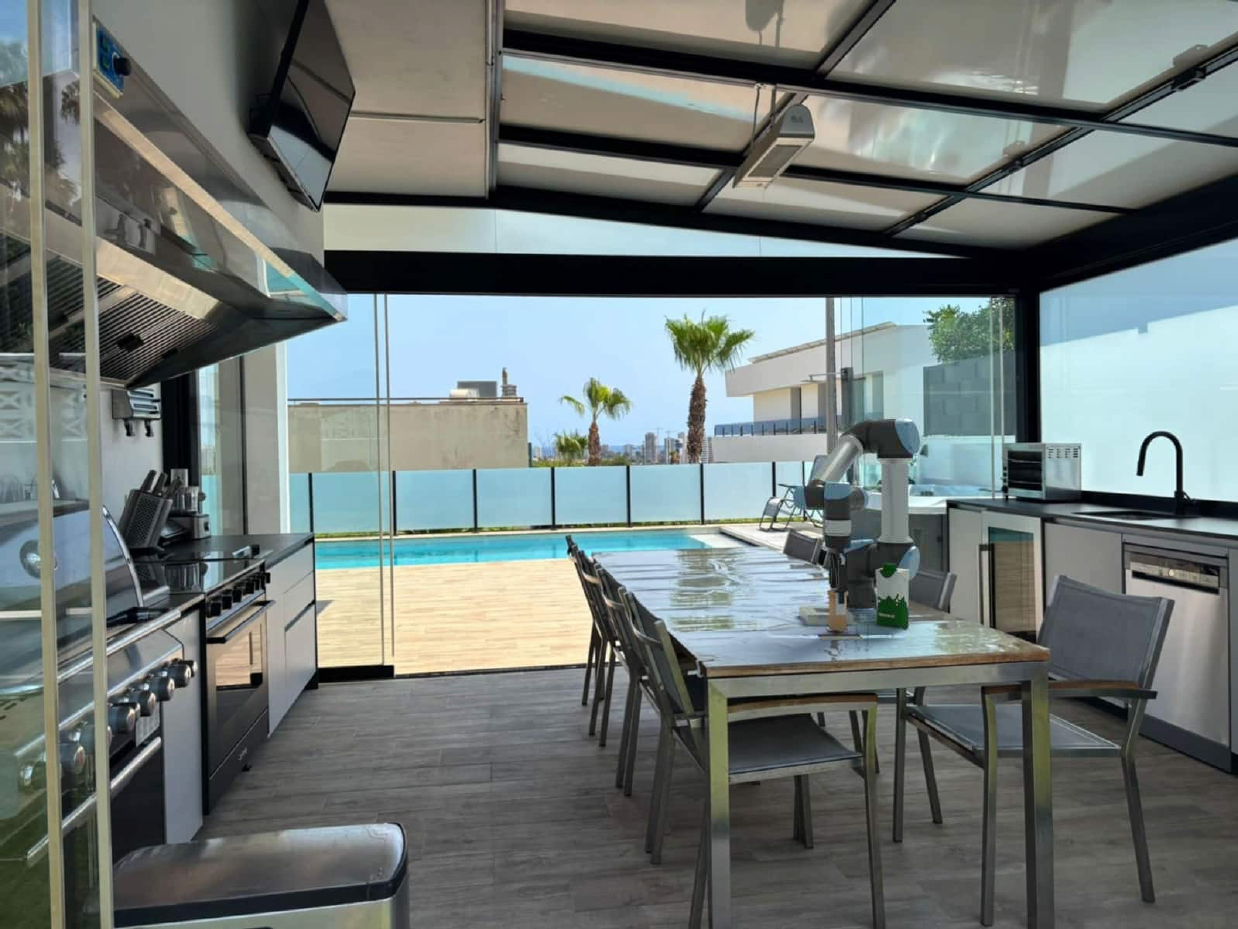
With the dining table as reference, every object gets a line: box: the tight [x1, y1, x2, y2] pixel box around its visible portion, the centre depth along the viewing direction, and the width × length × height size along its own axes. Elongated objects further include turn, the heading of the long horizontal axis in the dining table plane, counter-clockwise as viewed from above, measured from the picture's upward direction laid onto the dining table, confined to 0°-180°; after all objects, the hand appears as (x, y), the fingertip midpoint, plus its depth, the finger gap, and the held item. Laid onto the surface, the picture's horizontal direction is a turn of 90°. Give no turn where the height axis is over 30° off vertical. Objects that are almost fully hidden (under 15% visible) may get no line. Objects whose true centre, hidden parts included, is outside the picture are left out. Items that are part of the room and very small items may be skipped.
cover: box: [826, 589, 848, 631], centre depth 246 cm, size 6×6×11 cm
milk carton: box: [875, 563, 910, 630], centre depth 256 cm, size 9×9×20 cm
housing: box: [798, 605, 855, 626], centre depth 263 cm, size 14×14×4 cm
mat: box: [816, 633, 865, 641], centre depth 246 cm, size 12×12×1 cm
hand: (838, 612), depth 246 cm, fingers closed on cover, 6 cm apart
